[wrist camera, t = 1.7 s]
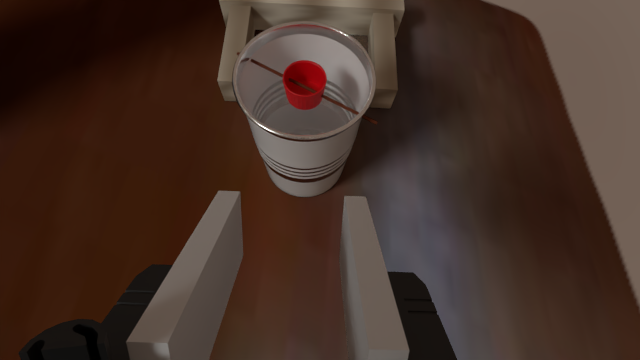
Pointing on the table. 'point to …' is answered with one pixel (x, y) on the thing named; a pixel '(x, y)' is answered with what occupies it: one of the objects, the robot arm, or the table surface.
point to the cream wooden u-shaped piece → (323, 7)
